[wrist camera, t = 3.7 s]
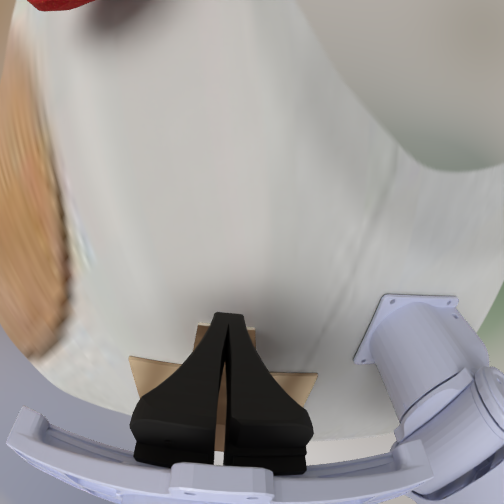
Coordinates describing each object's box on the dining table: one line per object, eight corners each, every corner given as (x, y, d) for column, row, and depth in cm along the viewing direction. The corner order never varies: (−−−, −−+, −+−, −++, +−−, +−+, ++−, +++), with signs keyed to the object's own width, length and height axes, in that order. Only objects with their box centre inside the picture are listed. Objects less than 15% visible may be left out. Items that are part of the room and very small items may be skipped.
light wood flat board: (317, 373, 25) (317, 376, 24) (295, 418, 29) (295, 421, 28) (129, 355, 23) (128, 358, 23) (143, 405, 27) (143, 407, 27)
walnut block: (254, 327, 22) (259, 426, 14) (248, 363, 24) (250, 453, 16) (198, 322, 22) (180, 419, 13) (198, 359, 23) (185, 447, 15)
